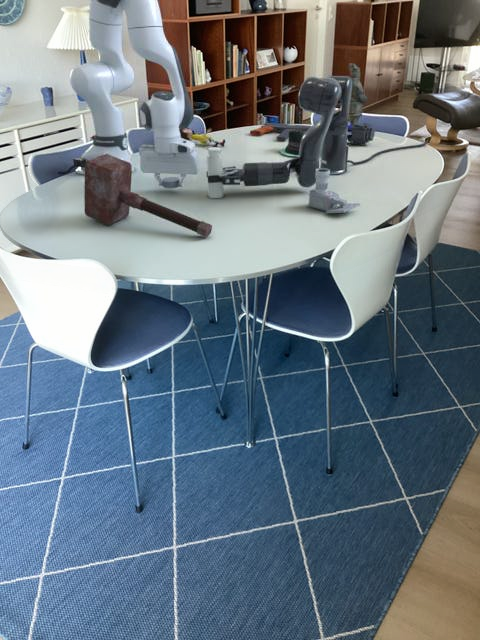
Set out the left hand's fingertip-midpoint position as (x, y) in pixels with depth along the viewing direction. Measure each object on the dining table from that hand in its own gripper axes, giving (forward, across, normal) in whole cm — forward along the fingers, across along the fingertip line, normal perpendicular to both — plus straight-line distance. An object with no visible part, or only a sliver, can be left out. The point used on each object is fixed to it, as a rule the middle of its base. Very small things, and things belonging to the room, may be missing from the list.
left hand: (171, 185), depth 191 cm
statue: (+2, +60, +105) cm, 121 cm away
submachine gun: (+2, +28, +91) cm, 95 cm away
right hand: (-4, +14, -3) cm, 15 cm away
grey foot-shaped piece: (+2, +55, -12) cm, 57 cm away
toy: (+2, +61, +78) cm, 99 cm away
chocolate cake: (+2, +40, +60) cm, 72 cm away
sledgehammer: (+2, +4, -34) cm, 34 cm away
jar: (+2, +16, -2) cm, 17 cm away
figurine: (+2, -8, +70) cm, 70 cm away
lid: (-2, 0, 0) cm, 2 cm away
